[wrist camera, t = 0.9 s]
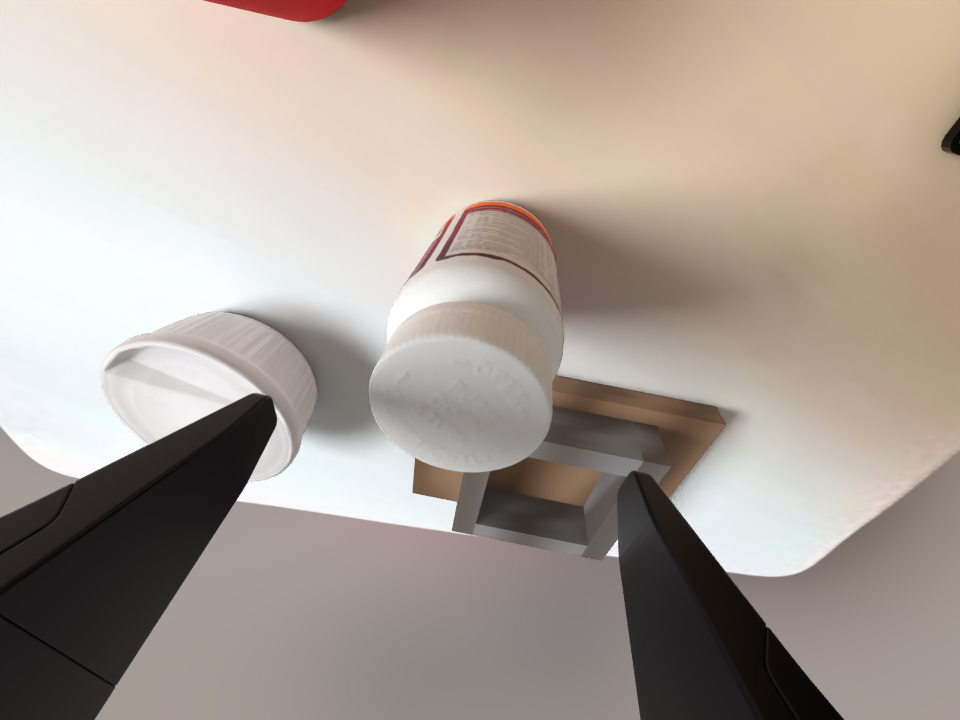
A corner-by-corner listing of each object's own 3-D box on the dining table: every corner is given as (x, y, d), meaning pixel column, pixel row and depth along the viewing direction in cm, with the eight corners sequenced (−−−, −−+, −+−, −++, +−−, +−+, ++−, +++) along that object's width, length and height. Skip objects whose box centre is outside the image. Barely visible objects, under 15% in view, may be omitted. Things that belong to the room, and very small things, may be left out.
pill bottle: (468, 326, 22) (420, 499, 13) (413, 228, 19) (300, 364, 10) (572, 289, 20) (601, 465, 11) (528, 172, 17) (518, 279, 8)
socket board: (716, 407, 23) (749, 467, 20) (632, 519, 31) (645, 577, 27) (428, 350, 23) (408, 399, 20) (417, 476, 31) (401, 528, 28)
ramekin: (275, 278, 22) (212, 325, 18) (360, 416, 28) (328, 476, 24) (133, 312, 25) (49, 360, 20) (238, 431, 31) (191, 487, 26)
